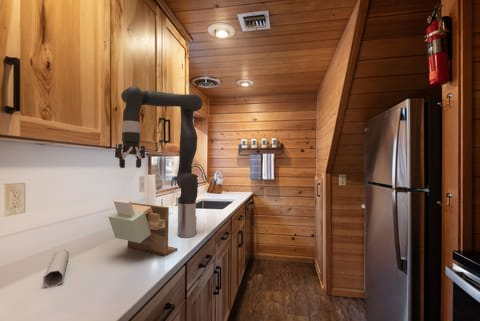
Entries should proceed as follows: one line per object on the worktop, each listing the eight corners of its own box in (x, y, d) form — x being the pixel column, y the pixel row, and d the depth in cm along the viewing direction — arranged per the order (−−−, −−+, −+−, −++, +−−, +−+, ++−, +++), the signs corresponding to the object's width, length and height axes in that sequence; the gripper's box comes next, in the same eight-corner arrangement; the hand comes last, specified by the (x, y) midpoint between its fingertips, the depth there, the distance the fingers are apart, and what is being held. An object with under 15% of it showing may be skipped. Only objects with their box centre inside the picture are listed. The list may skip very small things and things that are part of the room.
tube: (51, 250, 97) (39, 276, 75) (67, 244, 100) (60, 267, 78) (56, 263, 98) (46, 291, 76) (72, 256, 100) (66, 282, 79)
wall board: (141, 242, 120) (142, 201, 120) (177, 250, 110) (178, 205, 110) (118, 250, 108) (119, 204, 109) (156, 260, 99) (157, 209, 99)
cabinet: (135, 223, 111) (125, 191, 106) (158, 227, 105) (149, 193, 100) (115, 237, 102) (103, 203, 98) (139, 243, 96) (128, 206, 91)
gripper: (138, 134, 120) (137, 167, 120) (111, 130, 108) (110, 167, 108) (149, 133, 117) (148, 167, 117) (123, 129, 104) (122, 168, 104)
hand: (130, 167), depth 112 cm, fingers open, 8 cm apart
